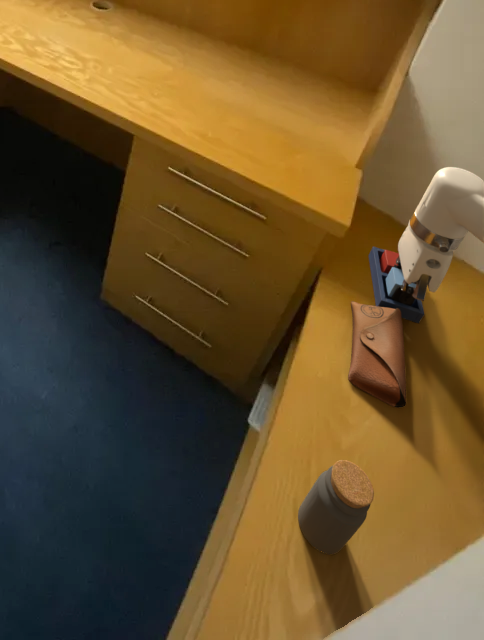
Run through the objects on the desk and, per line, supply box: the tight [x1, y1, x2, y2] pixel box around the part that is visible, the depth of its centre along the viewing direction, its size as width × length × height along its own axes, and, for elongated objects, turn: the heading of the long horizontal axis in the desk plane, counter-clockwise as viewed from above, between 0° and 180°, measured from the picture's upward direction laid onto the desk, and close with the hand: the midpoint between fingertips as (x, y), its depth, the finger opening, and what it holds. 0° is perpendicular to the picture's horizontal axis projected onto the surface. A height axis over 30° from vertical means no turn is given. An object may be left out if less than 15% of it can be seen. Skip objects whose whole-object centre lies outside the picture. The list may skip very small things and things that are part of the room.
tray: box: [368, 246, 426, 324], centre depth 103 cm, size 7×13×3 cm, turn 156°
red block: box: [379, 249, 399, 274], centre depth 105 cm, size 4×4×4 cm
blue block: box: [386, 267, 416, 297], centre depth 99 cm, size 4×4×4 cm
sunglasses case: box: [347, 300, 408, 409], centre depth 92 cm, size 18×7×7 cm, turn 151°
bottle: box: [297, 459, 375, 555], centre depth 68 cm, size 6×6×15 cm
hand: (399, 290), depth 100 cm, fingers closed on blue block, 4 cm apart
